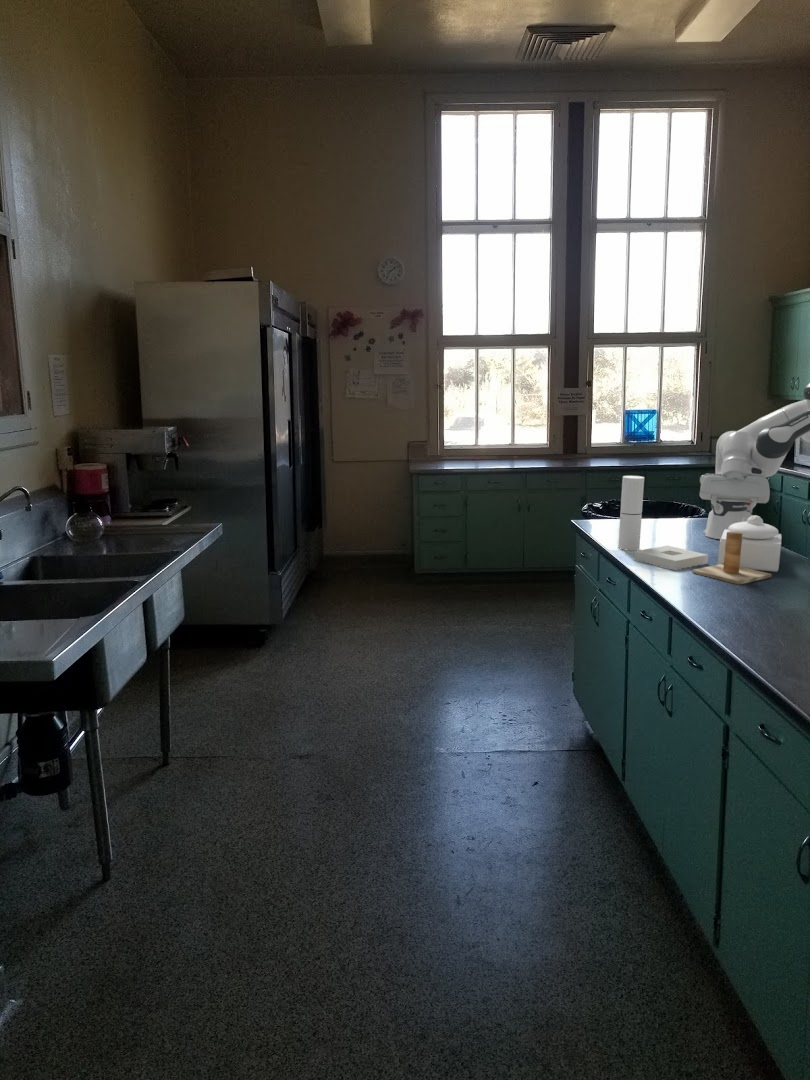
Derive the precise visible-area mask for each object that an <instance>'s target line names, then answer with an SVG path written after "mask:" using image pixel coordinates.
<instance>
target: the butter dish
mask: <svg viewBox="0 0 810 1080" xmlns="http://www.w3.org/2000/svg"><path fill="white" fill-rule="evenodd" d="M727 532H739V533H742V544H741V555H740V565H739V567H744V568H748V569H752V570H756V571H768V572H776V573H778V571H779V568H780V567H779V566H780V558H781V549H782V533H779V529H778V528H776V527H775V526H774V525H770V524H768V523H764V519H763V518H761V516H759V515H757V514H755V515H752V516H751V517H749V518H748V520H747V522H738V523H734V524H732V525H730V526H729V528H728V529H724V532H723V534H722V537H721V539H719V547H718V555H717V556H718V557H717V565H719V564H724V557H725V546H726V535H727Z"/></svg>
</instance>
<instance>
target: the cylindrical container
mask: <svg viewBox="0 0 810 1080" xmlns="http://www.w3.org/2000/svg"><path fill="white" fill-rule="evenodd" d="M621 482H622V483H621V498H620V512H619V513H620V516H619V530H618V545H617V548H618V549H619V548H621V549H620V550H622V549H627V550H626V551H629V550H635V551H638V550H637V549H639V550H640V545H641V544H640V543H641V533H642V532H641V531H642V529H641V528H642V516H643V513H642V512H643V503H644V499H643V498H644V486H645V476H640V475H623V476H622V481H621Z"/></svg>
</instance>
